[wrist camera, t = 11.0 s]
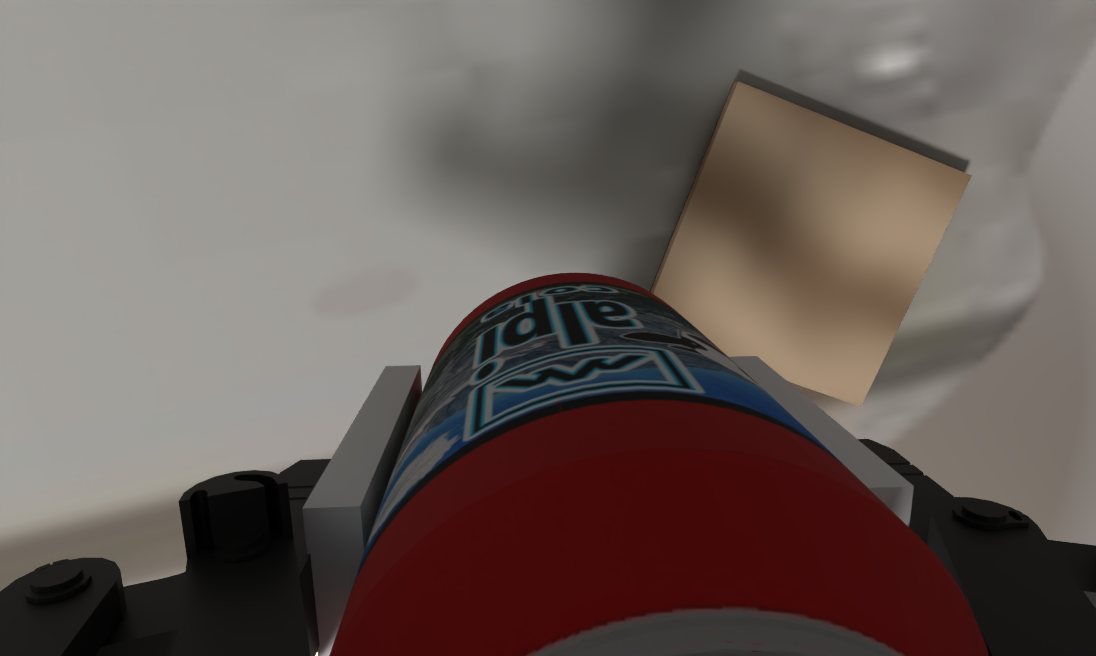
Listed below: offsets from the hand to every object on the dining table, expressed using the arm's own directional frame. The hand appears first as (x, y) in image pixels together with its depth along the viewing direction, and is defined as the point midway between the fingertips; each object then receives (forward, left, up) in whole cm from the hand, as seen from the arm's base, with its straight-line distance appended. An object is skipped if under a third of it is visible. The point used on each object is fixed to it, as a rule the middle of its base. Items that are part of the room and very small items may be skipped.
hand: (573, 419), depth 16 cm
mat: (-5, +10, -16) cm, 20 cm away
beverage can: (0, 0, -1) cm, 1 cm away
